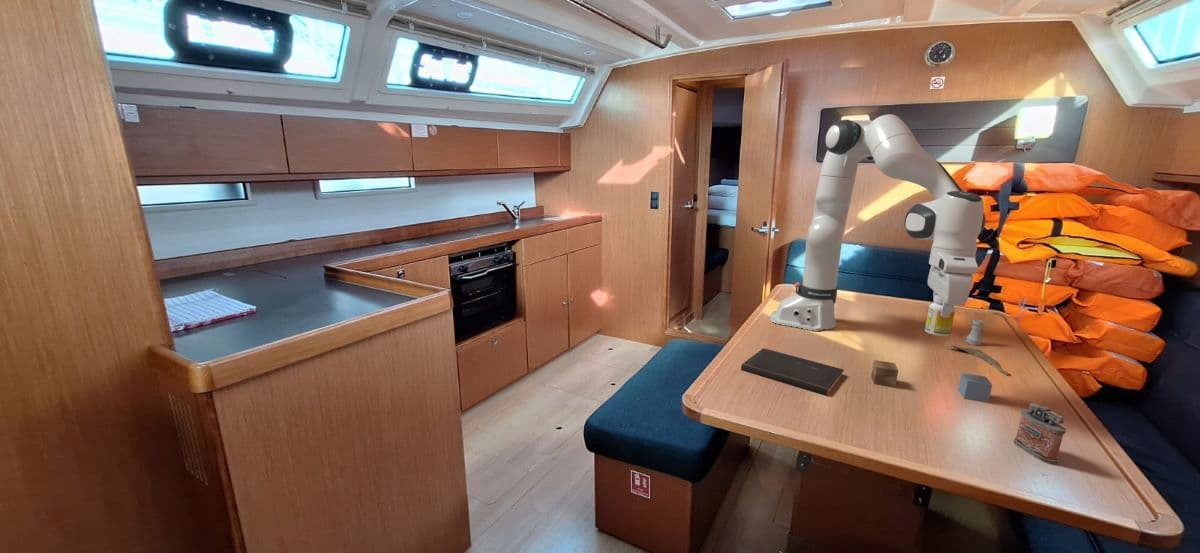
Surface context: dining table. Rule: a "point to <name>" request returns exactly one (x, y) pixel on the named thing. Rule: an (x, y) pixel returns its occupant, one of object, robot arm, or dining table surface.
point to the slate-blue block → (975, 387)
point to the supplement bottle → (938, 319)
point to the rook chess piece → (975, 333)
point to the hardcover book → (793, 371)
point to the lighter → (1040, 433)
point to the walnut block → (884, 373)
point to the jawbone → (981, 355)
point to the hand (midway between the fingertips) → (940, 312)
